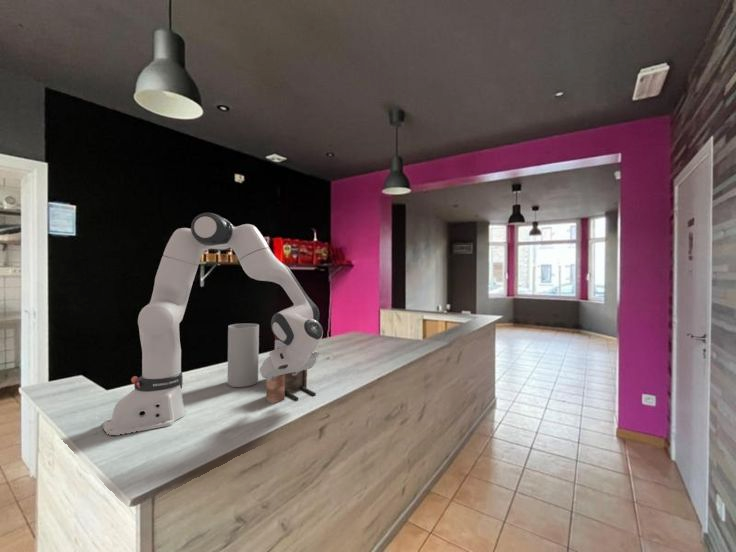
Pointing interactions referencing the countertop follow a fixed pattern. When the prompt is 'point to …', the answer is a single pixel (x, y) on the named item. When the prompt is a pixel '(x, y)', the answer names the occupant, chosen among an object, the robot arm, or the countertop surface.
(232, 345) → the cylinder vase
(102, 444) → the countertop surface
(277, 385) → the block
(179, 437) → the countertop surface
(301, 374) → the cubby
